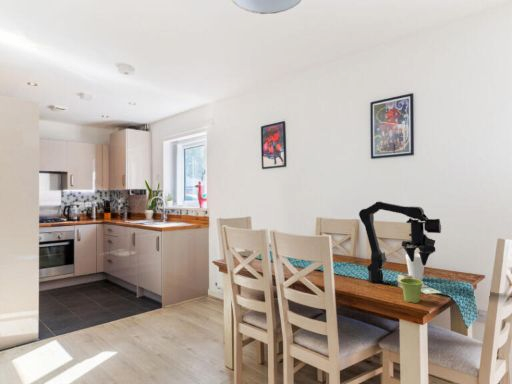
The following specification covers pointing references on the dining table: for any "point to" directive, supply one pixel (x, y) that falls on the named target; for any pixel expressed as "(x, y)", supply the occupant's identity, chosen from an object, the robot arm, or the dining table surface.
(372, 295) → the dining table surface
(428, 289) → the pad
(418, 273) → the foam cup
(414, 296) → the plant pot
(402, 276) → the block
